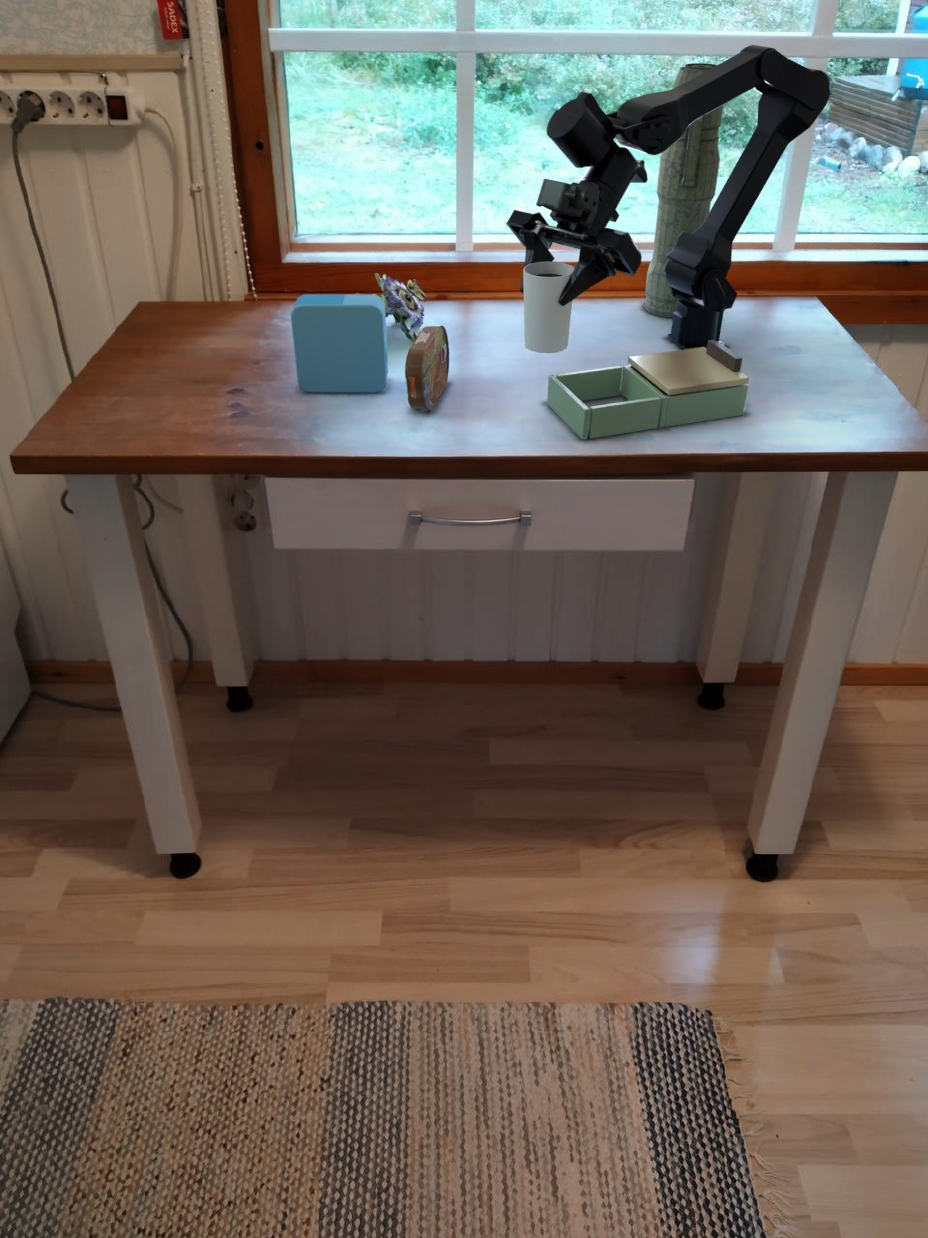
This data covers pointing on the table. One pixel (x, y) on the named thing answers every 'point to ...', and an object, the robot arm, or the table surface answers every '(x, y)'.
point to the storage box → (634, 402)
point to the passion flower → (402, 304)
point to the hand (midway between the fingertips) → (541, 298)
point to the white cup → (546, 306)
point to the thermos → (682, 193)
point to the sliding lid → (692, 368)
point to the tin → (427, 367)
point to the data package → (340, 343)
